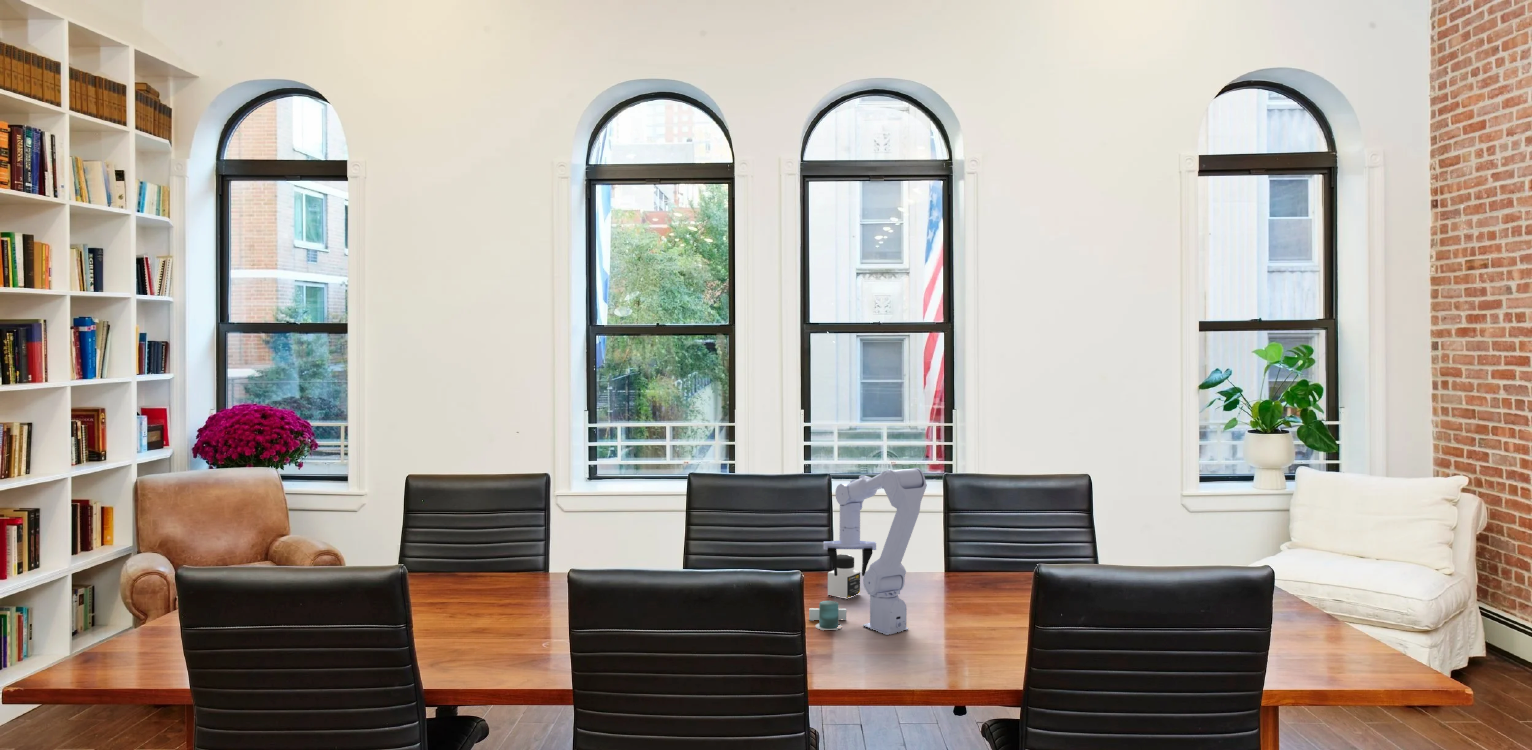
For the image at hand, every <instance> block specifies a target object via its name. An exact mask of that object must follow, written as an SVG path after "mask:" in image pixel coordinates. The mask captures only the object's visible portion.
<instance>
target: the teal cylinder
mask: <svg viewBox="0 0 1532 750" xmlns="http://www.w3.org/2000/svg"><path fill="white" fill-rule="evenodd" d="M818 604H819V626H820V627H821V628H825V629H834V628H837V627H838V624H839V621H838V609H839V602H838V601H834V600H823V601H820V602H819V603H818Z"/></svg>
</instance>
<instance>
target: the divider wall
mask: <svg viewBox="0 0 1532 750" xmlns="http://www.w3.org/2000/svg"><path fill="white" fill-rule="evenodd" d="M808 619H809V621H814V620H819V608H813V607H811V608H810V607H809V608H808ZM841 619H843V620H846V621H847V608H838V620H841Z"/></svg>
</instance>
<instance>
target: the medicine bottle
mask: <svg viewBox="0 0 1532 750" xmlns="http://www.w3.org/2000/svg"><path fill="white" fill-rule="evenodd" d="M859 592H860V593H861V572H860V571H859V570H855V557H854V556H853V555H851V554H848V553H847V554H846V553H845V554H843V553H841V554H837V576H835V575H834V570H831V571H828V572H827V596H828V595H832V596H840V597H846V598H848V597H851V596H854V595H856V594H858V593H859Z"/></svg>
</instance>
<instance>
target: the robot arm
mask: <svg viewBox="0 0 1532 750" xmlns="http://www.w3.org/2000/svg"><path fill="white" fill-rule="evenodd" d="M927 485H928V484H927V481H926V477H925V474H924V472H923V471H922V469H920V468H919V467H913V468H905V469H887V470H883V471H881V473H879V474H877V475H874V476H873V477H871V476H867V474H863V475H859V476H858V479H851V480H849V482H848V483H839V484H838V485H837V486H836V489H835V492H834V493H835V499H836V502H837V503H838V504H839V540H831V541H823V550H826V551H827V553H828V555H829V558H830V561H831V563H832V566H833V571H834V575H835V576H837V555H838V553H837V551H838V550H861V552H862V556H861V557H862V558H861V559H862V560H861V561H862V563H861V576H862V577H863V578H862V583H863V587H864V590H865V591H866V592H867V594H868V595H869V602H870V603H869V622H868V623H864V624H862V627H864V626H865V627H864V628H866V627H868V628H867V629H869V628H870V629H869V630H872V629H873V630H872V631H874V630H876V631H875V632H877V631H878V633H880V634H882V633H883V635H886V636H890V635H893V634H897V632H898V633H900V632H901V631H902V632H904V631H903V630H906V631H909V630H908V629H910V628H909V627H907V610H908V608H907V604H906V602H905V601H904V600H903V599H902V598H900V597H899V595H901V591H902V590H903V588H904V586H905V583H906V581H905V579H906V574H907V571H906V568H905V566H904V565H903V564H902V561H903V559H904V556H905V553H906V550H907V548H908V545H909V542H910V540H911V539H910V538H911V537H912V535H913V531H914V528H915V525H916V523H917V521H918V517H919V514H920V510H921V503H922V499H923V497H924V494H925V492H926V489H927V487H928V486H927ZM881 489H883V490H884V492H885V495H886V496H887V498H888V501H889V503H890V505H891V506H892V507H893V508H895V509H896V510H895V511H896V512H895V515H894V517H893V520H892V522H891V525H890V528H889V531H888V534H887V537H886V539H885V543H884V546H883V548H882V551H881V553H880V556H879V558H878V559H877V560H875V561H874V562H872V563H871V564H870V565H869V568H868V564H869V562H870V560H871V557H872V555H873V553H874V552H873V551H876V550H877V542H876V541H868V540H867V541H866V540H861V510H862V509H863V504H864V501H865V500H867V499H869V498H872V497H874V496H875V495H876V494H877V491H878V490H881ZM867 568H868V569H867ZM902 632H901V633H902ZM889 634H890V635H889Z"/></svg>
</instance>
